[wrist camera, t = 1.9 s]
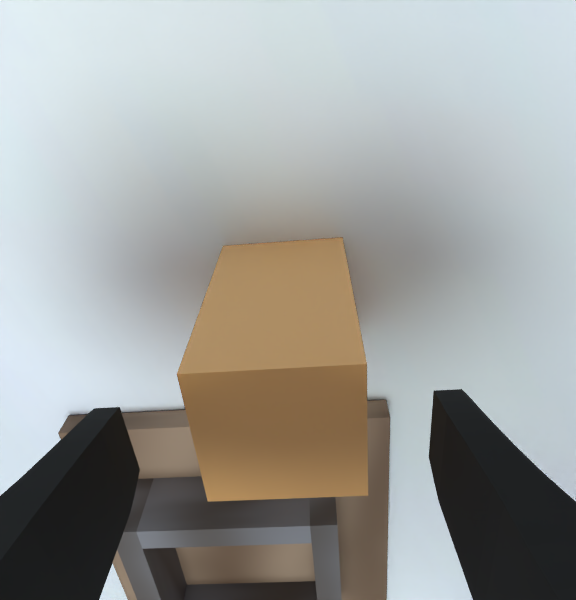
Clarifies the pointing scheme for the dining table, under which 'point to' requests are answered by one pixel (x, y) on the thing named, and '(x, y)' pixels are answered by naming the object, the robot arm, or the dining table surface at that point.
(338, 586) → the holder
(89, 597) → the robot arm
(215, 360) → the orange rectangular block
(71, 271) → the dining table surface
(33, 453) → the dining table surface
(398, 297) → the dining table surface
